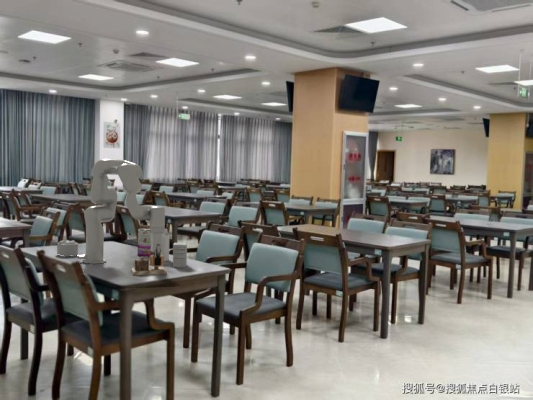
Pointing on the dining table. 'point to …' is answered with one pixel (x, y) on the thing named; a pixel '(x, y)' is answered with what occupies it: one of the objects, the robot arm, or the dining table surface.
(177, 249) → the supplement box
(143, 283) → the dining table surface
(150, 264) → the orange gear
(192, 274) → the dining table surface
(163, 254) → the milk carton
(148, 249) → the candy bar box
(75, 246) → the lumpy-topped squat cylinder
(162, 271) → the gear board
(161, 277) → the dining table surface
